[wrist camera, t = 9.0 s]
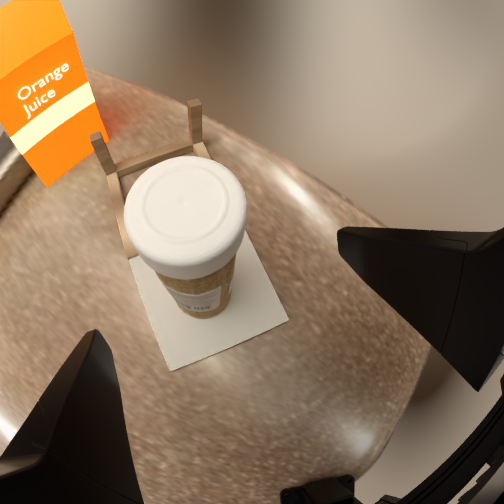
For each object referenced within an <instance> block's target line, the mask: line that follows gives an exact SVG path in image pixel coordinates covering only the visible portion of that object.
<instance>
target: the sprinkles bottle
mask: <svg viewBox="0 0 504 504" xmlns="http://www.w3.org/2000/svg"><path fill="white" fill-rule="evenodd" d="M246 218H247V200H246V196H245V193H244V190H243V187H242V185H241V183H240V182H239V180H238V179H237V178H236V176H235V175H234V174H233V173H232V172H231V171H230V170H229V169H227V168H226V167H224V166H223V165H221V164H219V163H217V162H215V161H213V160H210V159H207V158H203V157H197V156H180V157H175V158H171V159H168V160H165V161H162V162H160V163H158V164H156V165H154V166H153V167H151V168H149V169H148V170H146V171H145V172H144V173H143V174H142V175H141V176H140V177H139V178H138V179H137V181H136V182H135V183H134V184H133V186H132V188H131V189H130V191H129V193H128V195H127V198H126V202H125V205H124V224H125V229H126V232H127V235H128V237H129V239H130V241H131V242H132V244H133V246H134V248H135V249H136V251H137V252H138V254H139V255H140V257H141V258H142V259H143V261H144V262H145V263H146V264H147V265H148V266H149V267H150V268H152V269H153V270H154V271H155V273H156V275H157V277H158V278H159V280H160V281H161V282H162V284H163V285H164V287H165V288H166V289H167V291H168V292H169V293H170V295H171V296H172V297H173V299H174V300H175V301H176V303H177V305H178V307H179V308H180V309H181V310H182V311H183V312H184V313H185V314H188V315H189V316H191V317H194V318H197V319H207V318H211V317H213V316H217V315H218V314H219V313H221V312H222V311H223V310H224V309H225V308H226V307H227V305H228V303H229V301H230V298H231V292H232V284H233V278H234V269H235V267H234V265H235V259H236V252H237V251H238V249H239V247H240V245H241V243H242V240H243V237H244V232H245V226H246Z"/></svg>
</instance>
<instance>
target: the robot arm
mask: <svg viewBox="0 0 504 504" xmlns="http://www.w3.org/2000/svg"><path fill="white" fill-rule="evenodd" d="M337 241H338V251H339V254H340V255H341V257H342V258H343V259H344V260H345V261H346V262H347V263H348V264H349V266H350V267H351V268H352V269H353V270H354V271H355V272H356V273H357V274H358V275H359V277H360V278H361V279H362V280H363V281H364V282H365V283H366V284H367V285H368V286H369V287H371V288H372V289H373V290H374V291H375V292H376V293H377V294H378V295H379V296H380V297H382V298H383V299H384V300H385V301H386V302H387V303H388V304H389V305H390V306H391V307H392V308H393V309H394V310H396V311H397V312H398V313H399V314H400V315H401V316H402V317H403V318H404V319H405V320H406V321H407V322H408V323H409V324H410V325H411V326H412V327H413V328H415V329H416V330H417V331H418V332H419V333H420V334H421V335H422V336H423V337H424V338H425V339H426V340H427V341H428V342H429V343H430V344H431V345H432V346H433V347H434V348H435V349H436V350H437V351H438V352H439V353H441V355H442V356H443V357H444V358H445V359H446V360H447V361H448V362H449V363H450V364H451V365H452V366H453V367H454V368H455V369H456V370H457V372H458V373H459V374H460V375H461V376H462V377H463V378H464V379H465V380H466V381H467V382H468V383H469V384H470V385H471V386H472V387H473V388H474V389H475V390H476V391H477V392H479V391H480V390H481V388H482V387H483V386H484V384H485V383H486V382H487V381H488V379H489V378H490V377H491V375H492V374H493V373H494V371H495V370H496V369H497V367H498V366H499V364H500V363H501V362H502V360H503V359H504V228H502V229H500V230H497V231H493V232H457V231H435V230H430V231H429V230H416V229H397V228H374V227H344V228H342V229H339V230H338V232H337ZM500 383H501V389H502V396H501V397H500V398H499V400H498V401H497V403H496V404H495V405H494V407H493V408H492V409H491V411H490V412H489V413H488V414H487V416H486V417H485V418H484V419H483V421H482V422H481V423H480V424H479V425H478V427H477V428H476V429H475V431H473V433H472V434H471V435H470V436H469V437H468V438H467V439H466V440H465V441H464V443H463V444H462V445H461V446H460V447H459V448H458V449H457V450H456V451H455V452H454V453H453V454H452V455H451V456H450V457H449V458H448V459H447V460H446V461H445V462H444V463H443V464H442V465H441V466H440V467H439V468H438V469H437V470H435V471H434V472H433V473H432V474H431V475H430V476H429V477H428V478H426V479H425V480H424V481H423V482H422V483H421V484H419V485H418V486H417V487H416V488H415V489H413V490H412V491H411V492H410V493H408V494H407V495H406V496H405V497H403V498H402V499H400V498H397V497H393V496H389V495H384V496H383V497H382V498H380V500H379V501H378V502H376V503H375V504H447V503H448V502H449V501H451V500H452V499H453V497H455V495H456V494H458V493H459V492H460V491H461V490H462V489H463V488H464V487H465V485H466V484H467V483H468V482H469V481H470V480H471V479H472V478H473V477H474V476H475V475H476V474H477V473H478V471H479V470H480V469H481V468H482V467H483V466H484V464H485V463H487V464H489V466H490V468H489V469H488V470H487V471H486V472H484V473H483V474H482V475H481V476H480V477H479V478H478V479H477V480H476V482H477V484H476V485H475V486H474V487H472V488H471V489H470V490H469V491H467V492H466V493H465V494H464V495H462V496H461V497H460V498H459V499H458V501H459V503H457V504H504V375H503V376H502V378H501V380H500ZM349 478H350V480H349V481H347V480H348V479H349ZM354 483H355V479H354V477H353V476H352V475H345V476H342V477H338V478H330V479H326V480H322V481H318V482H314V483H309V484H306V485H305V486H301V487H296V488H291V489H285V490H283V491H281V493H280V503H281V504H363V503H361V502H360V501H359V500H358V499H356V498H355V497H354ZM285 494H289V495H288V496H284V495H285ZM0 504H144V502H143V498H142V495H141V491H140V488H139V484H138V480H137V476H136V472H135V468H134V464H133V460H132V455H131V451H130V446H129V441H128V436H127V430H126V424H125V419H124V412H123V406H122V398H121V392H120V387H119V382H118V378H117V374H116V369H115V364H114V360H113V355H112V351H111V349H110V347H109V345H108V344H107V342H106V341H105V339H104V338H103V336H102V335H101V333H100V332H99V331H98V330H97V329H94V330H92V331H89V332H87V333H86V334H85V335H84V336H83V338H82V339H81V340H80V342H79V343H78V344H77V346H76V347H75V348H74V350H73V351H72V353H71V354H70V355H69V357H68V358H67V359H66V361H65V362H64V364H63V365H62V366H61V368H60V369H59V371H58V372H57V374H56V375H55V377H54V378H53V379H52V381H51V382H50V384H49V385H48V387H47V388H46V390H45V391H44V393H43V394H42V396H41V397H40V399H39V401H38V402H37V403H36V405H35V407H34V408H33V410H32V411H31V413H30V414H29V416H28V417H27V419H26V420H25V422H24V423H23V425H22V426H21V428H20V429H19V430H18V432H17V433H16V435H15V436H14V438H13V439H12V440H11V442H10V443H9V445H8V446H7V448H6V449H5V451H4V452H3V454H2V455H1V456H0Z"/></svg>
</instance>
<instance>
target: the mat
mask: <svg viewBox="0 0 504 504" xmlns="http://www.w3.org/2000/svg"><path fill="white" fill-rule="evenodd" d="M129 262H130V265H131V268H132V271H133V275H134V278H135V281H136V284H137V287H138V290H139V293H140V296H141V299H142V301H143V304H144V307H145V310H146V313H147V315H148V318H149V321H150V323H151V326H152V329H153V331H154V334H155V336H156V339H157V341H158V344H159V346H160V349H161V351H162V353H163V356H164V358H165V361H166V363H167V365H168V367H169V370H170V371H173V370H176V369H178V368H181V367H183V366H186V365H188V364H191V363H193V362H196V361H198V360H201V359H203V358H206V357H208V356H211V355H213V354H215V353H218V352H220V351H223V350H225V349H227V348H230V347H232V346H234V345H237V344H239V343H241V342H243V341H246V340H248V339H250V338H252V337H254V336H257V335H259V334H261V333H263V332H265V331H268V330H270V329H272V328H274V327H276V326H278V325H280V324H282V323H284V322H286V321H288V320H289V318H288V316H287V314H286V312H285V310H284V308H283V306H282V304H281V302H280V300H279V298H278V296H277V294H276V292H275V290H274V288H273V286H272V283H271V281H270V279H269V277H268V275H267V273H266V271H265V269H264V267H263V265H262V263H261V261H260V259H259V257H258V255H257V253H256V251H255V249H254V247H253V245H252V243H251V241H250V239H249V237H248V235H247V233H246V231H245V232H244V237H243V240H242V243H241V245H240V247H239V249H238V251H237V252H236V259H235V265H234V267H235V269H234V278H233V284H232V292H231V298H230V301H229V303H228V305H227V307H226V308H225V309H224V310H223V311H222V312H221V313H219V314H218V315H217V316H213V317H211V318H207V319H197V318H194V317H191V316H189V315H188V314H185V313H184V312H183V311H182V310H181V309H180V308H179V307H178V305H177V303H176V301H175V300H174V299H173V297H172V296H171V295H170V293H169V292H168V291H167V289H166V288H165V287H164V285H163V284H162V282H161V281H160V280H159V278H158V277H157V275H156V273H155V271H154V270H153V269H152V268H150V267H149V266H148V265H147V264H146V263H145V262H144V261H143V259H142V258H141V257H140V255H139V256H136V257H134V258H131V259H129Z"/></svg>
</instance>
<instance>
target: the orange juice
mask: <svg viewBox="0 0 504 504" xmlns="http://www.w3.org/2000/svg"><path fill="white" fill-rule="evenodd" d="M0 122H1V124H2V125H3V127H4V128H5V130H6V131H7V133H8V135H9V136H10V138H11V140H12V141H13V143H14V144H15V146H16V147H17V149H18V150H19V151H20V153H21V154H22V155H23V156H24V158H25V159H26V160H27V162H28V163H29V164H30V166H31V167H32V168H33V170H34V171H35V172H36V174H37V175H38V176H39V178H40V179H41V180H42V181H43V183H44V184H45V185H46V187H49V186H50V185H51V184H52V183H53V182H54V181H56V180H57V179H58V178H59V177H61V176H62V175H63V174H64V173H65V172H67V171H68V170H69V169H71V168H72V167H73V166H74V165H76V164H77V163H78V162H80V161H81V160H82V159H84V158H85V157H86V156H88V155H89V154H90V153H92V152H93V151H94V149H93V147H92V144H91V142H90V135H91V134H93V133H95V132H98V131H101V134H102V136H103V139H104V141H105V143H106V142H107V141H109V139H108V136H107V133H106V131H105V128H104V126H103V123H102V120H101V118H100V115H99V112H98V109H97V107H96V104H95V99H94V97H93V94H92V91H91V88H90V85H89V82H88V80H87V77H86V74H85V71H84V68H83V65H82V61H81V58H80V55H79V51H78V48H77V44H76V41H75V37H74V33H73V31H72V30H71V27H70V25H69V23H68V20H67V18H66V15H65V13H64V11H63V8H62V6H61V3H60V1H59V0H12V1H10V2H8V3H7V4H5V5H4V6H2V7H0Z"/></svg>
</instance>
